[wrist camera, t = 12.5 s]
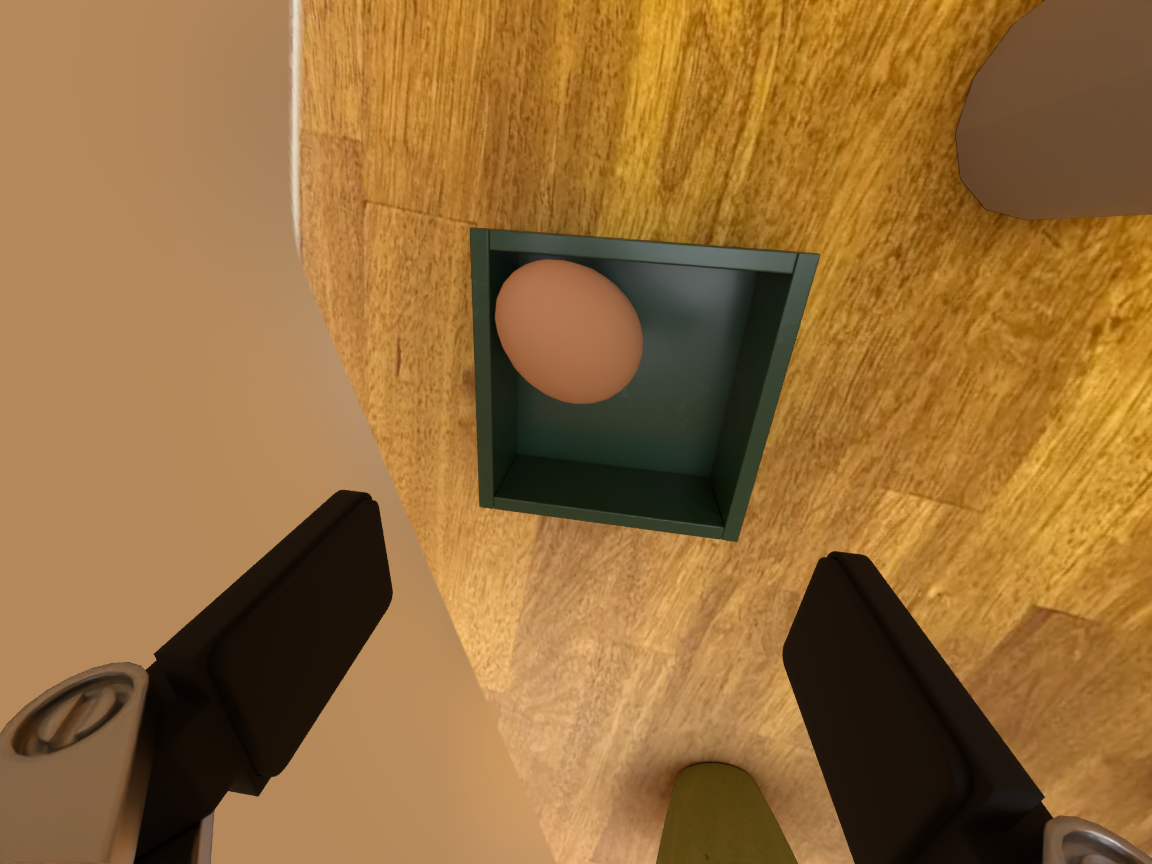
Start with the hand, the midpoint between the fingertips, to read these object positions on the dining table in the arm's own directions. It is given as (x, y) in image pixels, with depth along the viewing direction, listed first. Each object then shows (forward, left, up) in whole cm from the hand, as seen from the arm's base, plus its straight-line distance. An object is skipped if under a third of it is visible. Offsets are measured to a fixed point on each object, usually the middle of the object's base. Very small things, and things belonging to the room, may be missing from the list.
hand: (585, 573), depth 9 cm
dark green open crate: (0, 0, -17) cm, 17 cm away
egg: (0, 0, -15) cm, 15 cm away
